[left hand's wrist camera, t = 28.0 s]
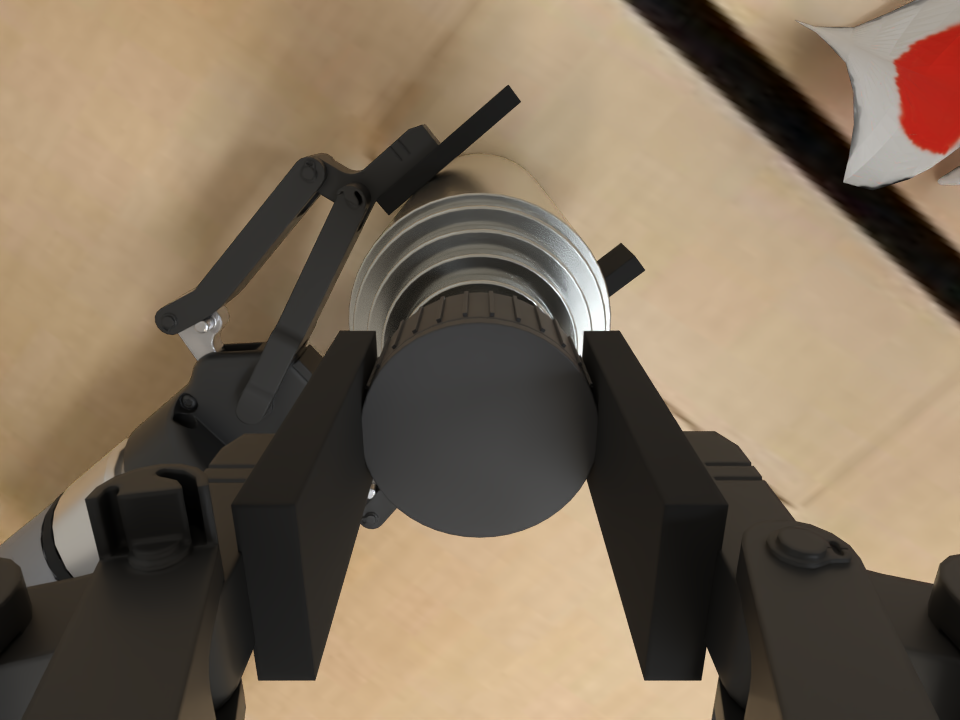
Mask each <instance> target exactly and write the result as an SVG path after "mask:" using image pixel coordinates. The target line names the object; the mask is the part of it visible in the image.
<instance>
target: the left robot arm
mask: <svg viewBox="0 0 960 720" xmlns="http://www.w3.org/2000/svg"><path fill="white" fill-rule="evenodd" d="M377 358H378V357H377V340H376V331H340V332H339V333H338V335H337V336H336V338H335V340H334V341H333V343H332V344H331V346H330V348H329V349H328V351H327V352H326V354H325V356H324V357H323V359H322V360H321V362H320V363H319V365H318V367H317V368H316V370H315V371H314V373H313V375H312V376H311V378H310V379H309V381H308V383H307V384H306V386H305V387H304V389H303V391H302V392H301V394H300V395H299V397H298V399H297V400H296V402H295V403H294V405H293V406H292V408H291V410H290V411H289V413H288V414H287V416H286V418H285V419H284V421H283V422H282V424H281V426H280V427H279V429H278V430H277V432H276V434H243V435H242V436H240V437H238V438H237V439H235V440H234V441H232V442H231V443H229V444H227V445H226V446H224V447H223V448H221V450H220V451H219V452H218V454H217V455H216V456H215V457H214V459H213V460H212V461H211V463H210V464H209V468H206V469H205V471H204V472H203V471H202V470H200V469H199V468H198V467H193V466H189V465H185V464H158V465H152V466H147V467H142V468H137V469H134V470H131V471H128V472H125V473H123V474H120V475H117V476H114V477H113V478H111V479H109V480H108V481H106V482H104V483H102V484H101V485H99V486H97V487H96V488H95V489H94V490H93V491H92V492H91V493H90V494H89V495H88V496H87V497H86V498H85V503H86V507H87V511H88V515H89V519H90V523H91V527H92V531H93V535H94V539H95V543H96V547H97V551H98V555H99V562H98V564H97V566H96V568H95V570H94V572H93V573H91V574H87V575H83V576H79V577H74V578H69V579H64V580H59V581H54V582H49V583H44V584H39V585H34V586H29V587H26V584H25V580H24V577H23V574H22V570H21V567H20V566H19V565H17V564H16V563H15V562H14V561H12V560H11V559H7V558H1V557H0V720H244V718H245V710H246V705H245V697H244V690H243V684H242V678H241V677H242V675H243V672H244V670H245V668H246V665H247V663H248V660H249V658H250V656H251V653H252V651H253V650H254V657H255V663H256V669H257V676H258V680H315V679H316V676H317V672H318V669H319V665H320V662H321V658H322V655H323V652H324V648H325V645H326V641H327V638H328V634H329V631H330V627H331V624H332V620H333V617H334V613H335V610H336V606H337V603H338V599H339V596H340V592H341V589H342V585H343V582H344V578H345V575H346V571H347V568H348V564H349V561H350V558H351V554H352V551H353V547H354V544H355V540H356V537H357V533H358V530H359V526H360V523H361V519H362V516H363V512H364V509H365V505H366V502H367V498H368V495H369V491H370V488H371V484H372V481H373V478H372V476H371V474H370V472H369V470H368V468H367V465H366V463H365V458H364V444H363V430H362V406H363V403H364V400H365V397H366V393H367V391H368V390H367V389H365V388H366V385H367V382H368V380H369V378H370V375H371V373H372V370H373V368H374V365H375V363H376V360H377ZM582 359H583V361H584V364H585V366H586V369H587V371H588V374H589V376H590V379H591V381H592V383H593V386H594V387H592V388H591V390H592V392H593V395H594V398H595V401H596V405H597V408H598V424H597V438H596V452H595V461H594V464H593V467H592V469H591V471H590V473H589V475H588V477H587V482H588V486H589V489H590V493H591V496H592V500H593V503H594V507H595V510H596V514H597V517H598V521H599V524H600V528H601V531H602V535H603V538H604V542H605V545H606V549H607V552H608V556H609V559H610V563H611V566H612V569H613V573H614V576H615V580H616V583H617V587H618V590H619V594H620V597H621V601H622V604H623V608H624V611H625V615H626V618H627V622H628V625H629V629H630V632H631V636H632V639H633V643H634V646H635V650H636V653H637V657H638V660H639V663H640V667H641V670H642V674H643V677H644V680H701V679H702V673H703V667H704V660H705V654H706V647H707V648H708V651H709V653H710V656H711V658H712V660H713V663H714V665H715V667H716V670H717V672H718V675H719V678H718V684H717V690H716V696H715V702H714V708H713V714H712V720H960V554H958V555H952V556H949V557H948V558H946V559H945V560H944V561H943V562H942V563H940V565H939V568H938V572H937V575H936V578H935V582H934V584H931V583H926V582H921V581H916V580H911V579H905V578H900V577H895V576H890V575H885V574H881V573H877V572H873V571H869V570H866V569H865V567H864V565H863V563H862V561H861V559H860V557H859V556H858V555H857V554H856V552H855V551H854V550H853V549H852V547H851V546H850V545H849V544H847V543H846V542H844V541H843V540H841V539H840V538H838V537H837V536H835V535H834V534H832V533H830V532H828V531H825V530H823V529H820V528H818V527H816V526H813V525H811V524H806V523H801V522H797V521H795V519H794V518H793V517H792V515H791V514H790V513H789V511H788V510H787V509H786V508H785V506H784V505H783V504H782V502H781V501H780V500H779V498H778V497H777V496H776V494H775V493H774V492H773V491H772V489H771V488H770V487H769V485H768V484H767V483H766V481H765V480H762V476H761V475H760V474H759V472H758V471H757V470H756V468H755V467H754V466H751V462H750V461H749V459H748V458H747V457H746V455H745V454H744V453H743V451H742V450H741V449H740V447H739V446H738V445H736V444H735V443H733V442H731V441H730V440H728V439H727V438H725V437H723V436H722V435H720V434H718V433H717V432H715V431H682V430H681V428H680V426H679V425H678V423H677V422H676V420H675V418H674V417H673V415H672V414H671V412H670V410H669V409H668V407H667V406H666V404H665V402H664V401H663V399H662V398H661V396H660V394H659V393H658V391H657V390H656V388H655V387H654V385H653V383H652V382H651V380H650V379H649V377H648V375H647V374H646V372H645V371H644V369H643V367H642V366H641V364H640V363H639V361H638V359H637V358H636V356H635V355H634V353H633V351H632V350H631V348H630V347H629V345H628V343H627V342H626V340H625V339H624V337H623V336H622V334H621V332H620V331H584V333H583V350H582Z"/></svg>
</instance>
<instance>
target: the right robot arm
mask: <svg viewBox="0 0 960 720" xmlns="http://www.w3.org/2000/svg"><path fill="white" fill-rule="evenodd" d="M520 102H521V101H520V100H519V98H518V97H517V96H516V94H515V93H514V92H513V90H512V89H511V88H510V86H509V85H507V86H506V87H505V88H504V89H503V90H502V91H500V92H499V93H498V94H497V95H496V96H495V97H493V98H492V99H491V100H490V101H489V102H488V103H487V104H485V105H484V106H483V107H482V108H481V109H480V110H479V111H477V112H476V113H475V114H474V115H473V116H472V117H471V118H469V119H468V120H467V121H466V122H465V123H464V124H462V125H461V126H460V127H459V128H458V129H457V130H456V131H454V132H453V133H452V134H451V135H450V136H449V137H448V138H446V139H445V140H444V141H443V142H442V143H440V142H439V141H438V140H437V138H436V137H435V136H434V135H433V133H432V132H431V131H430V130H429V128H428V127H427V126H426V125H425V124H423V125H420V126H417V127H414V128H411V129H409V130H407V131H406V132H405V133H404V134H403V135H402V136H401V137H400V138H399V139H397V140H396V141H395V142H394V143H393V144H392V145H391V146H390V147H388V148H387V149H386V150H385V151H384V152H383V153H382V154H381V155H379V156H378V157H377V158H376V159H375V160H374V161H373V162H372V163H370V164H369V165H368V166H367V167H366V168H365V169H364V170H361V171H355V170H351V169H348V168H346V167H345V166H343V165H341V164H340V163H338V162H336V161H335V160H334V159H333V157H331V156H330V155H328V154H325V153H319V154H314V155H311V156H307V157H304V158H301V159H300V160H299V161H297V162H296V164H295V165H294V166H293V167H292V169H291V170H290V171H289V172H288V174H287V175H286V176H285V177H284V179H283V180H282V181H281V182H280V184H279V185H278V186H277V187H276V189H275V190H274V191H273V192H272V194H271V195H270V196H269V197H268V199H267V200H266V201H265V202H264V204H263V205H262V206H261V207H260V209H259V210H258V211H257V212H256V214H255V215H254V216H253V217H252V219H251V220H250V221H249V222H248V224H247V225H246V226H245V227H244V229H243V230H242V231H241V232H240V234H239V235H238V236H237V237H236V239H235V240H234V241H233V242H232V244H231V245H230V246H229V248H228V249H227V250H226V251H225V253H224V254H223V255H222V256H221V258H220V259H219V260H218V261H217V263H216V264H215V265H214V266H213V268H212V269H211V270H210V271H209V273H208V274H207V275H206V276H205V278H204V279H203V280H202V281H201V283H200V284H199V285H198V286H197V287H196V288H194V289H192V290H191V291H189V292H187V293H185V294H183V295H182V296H180V297H179V298H177V299H175V300H174V301H172V302H171V303H169V304H167V305H166V306H164V307H163V308H161V309H160V310H159V311H158V312H157V313H156V315H155V323H156V325H157V327H158V328H159V329H160V330H161V331H162V332H164V333H166V334H170V335H174V334H179V336H180V337H181V339H182V340H183V341H184V343H185V344H186V346H187V347H188V348H189V350H190V351H191V353H192V354H193V355H194V357H195V358H196V360H197V362H196V364H195V366H194V368H193V372H192V376H191V379H190V381H189V383H188V384H187V385H186V386H185V387H184V388H183V389H181V390H180V391H179V392H178V393H177V394H176V395H174V396H173V397H172V398H171V399H170V400H169V401H168V402H166V403H165V404H164V405H163V406H162V407H161V408H159V409H158V410H157V411H156V412H155V413H154V414H152V415H151V416H150V417H149V418H148V419H147V420H145V421H144V422H143V423H142V424H141V425H140V426H138V427H137V428H136V429H135V430H134V431H133V432H132V434H131V435H130V437H129V438H126V439H124V440H123V441H122V442H120V443H119V444H118V445H117V446H116V447H115V448H113V449H112V450H111V451H110V452H109V453H108V454H106V455H105V456H104V457H103V458H102V459H100V460H99V461H98V462H97V463H96V464H95V465H93V466H92V467H91V468H90V469H89V470H87V471H86V472H85V473H84V474H83V475H82V476H80V477H79V478H78V479H77V480H76V481H75V482H73V483H72V484H71V485H70V486H69V487H68V488H67V489H66V490H65V491H64V492H63V493H62V494H61V495H60V496H59V497H58V498H57V499H56V500H55V501H54V502H53V503H52V504H51V505H49V506H48V507H47V508H46V509H44V510H43V511H42V512H41V513H39V514H38V515H37V516H36V517H34V518H33V519H32V520H31V521H30V522H28V523H27V524H26V525H25V526H23V527H22V528H21V529H20V530H18V531H17V532H16V533H15V534H13V535H12V536H11V537H10V538H8V539H7V540H6V541H5V542H4V543H3V544H1V545H0V557H1V558H7V559H11V560H12V561H14V562H15V563H16V564H17V565H19V566H20V567H21V570H22V574H23V577H24V580H25V584H26V587H29V586H34V585H39V584H44V583H49V582H54V581H59V580H64V579H69V578H74V577H79V576H83V575H87V574H91V573H93V572H94V570H95V568H96V566H97V564H98V562H99V555H98V551H97V547H96V543H95V539H94V535H93V531H92V527H91V523H90V519H89V515H88V511H87V507H86V503H85V498H86V497H87V496H88V495H89V494H90V493H91V492H92V491H93V490H94V489H95V488H96V487H97V486H99V485H101V484H102V483H104V482H106V481H108V480H109V479H111V478H113V477H114V476H117V475H120V474H123V473H125V472H128V471H131V470H134V469H137V468H142V467H147V466H152V465H158V464H185V465H189V466H193V467H198V468H199V469H200V470H202V471H203V472H204V471H205V469H206V468H209V464H210V463H211V461H212V460H213V459H214V457H215V456H216V455H217V454H218V452H219V451H220V450H221V448H223V447H224V446H226V445H227V444H229V443H231V442H232V441H234V440H235V439H237V438H238V437H240V436H242V435H243V434H276V432H277V430H278V429H279V427H280V426H281V424H282V422H283V421H284V419H285V418H286V416H287V414H288V413H289V411H290V410H291V408H292V406H293V405H294V403H295V402H296V400H297V399H298V397H299V395H300V394H301V392H302V391H303V389H304V387H305V386H306V384H307V383H308V381H309V379H310V378H311V376H312V375H313V373H314V371H315V370H316V368H317V367H318V365H319V363H320V362H321V360H322V359H323V358H322V356H321V355H320V354H319V353H318V352H317V351H316V350H315V349H314V348H313V347H312V346H311V345H309V346H307V347H306V344H307V342H308V340H309V338H310V336H311V334H312V332H313V330H314V328H315V325H316V323H317V320H318V318H319V316H320V314H321V311H322V309H323V307H324V305H325V303H326V301H327V299H328V297H329V295H330V293H331V291H332V289H333V287H334V285H335V283H336V281H337V279H338V277H339V275H340V273H341V271H342V269H343V267H344V265H345V263H346V261H347V259H348V257H349V255H350V253H351V250H352V248H353V246H354V244H355V242H356V240H357V238H358V236H359V234H360V232H361V230H362V228H363V226H364V224H365V222H366V220H367V218H368V216H369V214H370V212H371V210H372V208H373V206H374V204H375V202H376V201H377V202H378V203H379V205H380V206H381V207H382V208H383V209H384V210H385V212H386V213H387V214H388V215H390V214H391V213H392V212H393V211H394V210H396V209H397V208H398V207H399V206H400V205H401V204H403V203H404V202H405V201H406V200H407V199H408V198H410V197H411V196H412V195H413V194H414V193H415V192H417V191H418V190H419V189H420V188H421V187H422V186H424V185H425V184H426V183H427V182H428V181H429V180H431V179H432V178H433V177H434V176H435V175H436V174H438V173H439V172H440V171H441V170H442V169H443V168H445V167H446V166H447V165H448V164H449V163H450V162H452V161H453V160H454V159H455V158H456V157H457V156H459V155H460V154H461V153H462V152H463V151H464V150H466V149H467V148H468V147H469V146H470V145H471V144H472V143H474V142H475V141H476V140H477V139H478V138H479V137H481V136H482V135H483V134H484V133H485V132H486V131H488V130H489V129H490V128H491V127H492V126H493V125H495V124H496V123H497V122H498V121H499V120H500V119H502V118H503V117H504V116H505V115H506V114H507V113H509V112H510V111H511V110H512V109H513V108H514V107H516V106H517V105H518V104H519V103H520ZM320 195H322V196H324V197H326V198H328V199H329V200H331V201H333V202H334V205H333V207H332V209H331V211H330V213H329V215H328V217H327V219H326V222H325V224H324V226H323V228H322V230H321V232H320V234H319V236H318V239H317V241H316V243H315V245H314V247H313V249H312V251H311V253H310V256H309V258H308V260H307V262H306V264H305V266H304V268H303V270H302V273H301V275H300V277H299V279H298V281H297V283H296V285H295V287H294V290H293V292H292V294H291V296H290V298H289V300H288V302H287V304H286V307H285V309H284V311H283V313H282V315H281V317H280V319H279V321H278V323H277V325H276V327H275V329H274V330H273V332H272V333H271V335H270V337H269V339H268V341H267V342H256V343H237V344H223V343H222V341H221V337H220V334H221V331H222V329H223V328H224V327H225V326H226V325H227V324H228V321H229V312H228V309H227V307H226V306H224V305H225V304H226V303H227V302H229V301H230V300H231V299H233V298H234V297H235V296H236V295H237V294H239V293H240V291H241V290H242V289H243V288H244V287H245V286H246V285H247V284H248V282H249V281H250V280H251V279H252V278H253V276H254V275H255V274H256V273H257V272H258V270H259V269H260V268H261V267H262V265H263V264H264V263H265V262H266V261H267V259H268V258H269V257H270V256H271V255H272V253H273V252H274V251H275V250H276V248H277V247H278V246H279V245H280V244H281V242H282V241H283V240H284V239H285V238H286V236H287V235H288V234H289V233H290V232H291V230H292V229H293V228H294V227H295V225H296V224H297V223H298V222H299V221H300V219H301V218H302V217H303V216H304V215H305V213H306V212H307V211H308V210H309V208H310V207H311V206H312V205H313V204H314V202H315V201H316V200H317V199H318V198H319V196H320ZM597 263H598V265H599V267H600V269H601V272H602V274H603V277H604V279H605V282H606V286H607V290H608V294H609V297H610V296H611V295H613V294H614V293H615V292H617V291H618V290H619V289H621V288H622V287H623V286H625V285H626V284H628V283H629V282H630V281H632V280H633V279H634V278H636V277H637V276H638V275H640V274H641V273H642V272H644V271H645V269H644V268H643V266H642V265H641V264H640V262H639V261H638V260H637V258H636V257H635V256H634V255H633V254H632V253H631V252H630V251H629V250H628V249H627V248H626V247H625V246H624V245H623V244H622V243H620V244H619V245H618V246H616V247H615V248H614V249H612V250H611V251H610V252H609V253H607V254H606V255H605V256H603V257H602V258H601V259H599V260H598V261H597ZM396 508H397V507H396V506H395V505H394V504H392V503H391V502H390V501H389V500H388V499H387V497H386V496H385V495H384V494H383V493H382V491H381V490H380V489H379V488H378V486H377V484H376V483H375V481H374V480H373V481H372V484H371V488H370V491H369V495H368V498H367V502H366V505H365V509H364V512H363V516H362V519H361V523H360V524H361V525H362V526H363V527H365V528H368V529H375V528H378V527H380V526H381V525H382V524H383V523H384V522H385V521H386V520H387V518H388V517H389V516H390V515H391V514H392V513H393V512H394V511H395V509H396Z"/></svg>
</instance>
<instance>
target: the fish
mask: <svg viewBox="0 0 960 720" xmlns="http://www.w3.org/2000/svg"><path fill="white" fill-rule="evenodd" d="M795 21H797V20H795ZM797 22H798V23H800V24H802V25H804V26H805V27H807V28H809V29H811V30H812V31H814V32H816V33H817V34H818V35H819V36H820V37H821V38H822V39H823V40H824V41H825V42H826V43H827V44H828V45H829V46H830V47H831V48H832V49H833V50H834V51H835V52H836V53H837V54H838V55H839V56H840V57H841V58H842V60H843V61H844V62H845V63H846V66H847V70H848V73H849V77H850V81H851V84H852V88H853V102H854V128H853V135H852V141H851V148H850V154H849V160H848V164H847V168H846V172H845V177H844V181H843V182H845V183H848V184H852V185H855V186H859V187H862V188H866V189H869V190H875V189H878V188H881V187H885V186H888V185H891V184H895V183H898V182H901V181H905V180H908V179H910V178H912V177H914V176H916V175H918V174H920V173H922V172H924V171H926V170H928V169H930V168H931V167H933V166H934V165H936V164H937V163H939V162H940V161H941V160H943V159H944V158H946V157H947V156H948V155H950V154H951V153H952V152H954V151H955V150H956V149H958V148H959V147H960V0H915V1H913V2H910V3H908V4H906V5H904V6H902V7H900V8H898V9H896V10H894V11H892V12H890V13H887V14H885V15H882V16H880V17H878V18H875V19H873V20H871V21H868V22H866V23H863V24H861V25H859V26H856V27H814V26H811V25H808V24H805V23H803V22H800V21H797ZM938 183H939V184H940V185H960V166H959V167H957V168H955V169H954V170H952V171H951V172H949V173H948V174H946V175H944V176H943V177H941V178H940V179H938Z"/></svg>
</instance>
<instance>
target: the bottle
mask: <svg viewBox="0 0 960 720" xmlns="http://www.w3.org/2000/svg"><path fill="white" fill-rule="evenodd" d="M464 291H469V293H477V292H483V293H489V291H493V293H496V294H501V295H506V296H510V297H513V295H514V296H517V299H519V300H522V301H524V302H526V303H528V304H530V305H532V306H535V305H537V306H539V309H540V310H541V311H542V312H544V313H545V314H547V315H548V316H549V317H550V318H551V319H552V320H553V319H554V318H555V319H556V320H557V321H558V324H559V326H560V328H561V329H562V330H563V331H564V332H565V334H566V335H567V337H568V336H571V337H572V339H573V342H574V344H575V347H576V349H577V352H578V354H579V355H581V357H582V350H583V333H584V331H610V327H611V309H610V299H609V294H608V290H607V286H606V282H605V279H604V277H603V274H602V272H601V269H600V267H599V265H598V263H597V261H596V259H595V257H594V256H593V254H592V252H591V251H590V249H589V248H588V247H587V245H586V244H585V243H584V241H583V240H582V239H581V237H580V236H579V235H578V234H577V232H576V231H575V230H574V229H573V227H572V226H571V225H570V223H569V222H568V221H567V220H566V218H565V217H564V216H563V214H562V213H561V212H560V211H559V209H558V208H557V207H556V205H555V204H554V203H553V202H552V200H551V199H550V198H549V196H548V195H547V194H546V193H545V191H544V190H543V189H542V187H541V186H540V185H539V184H538V182H537V181H536V180H535V179H534V177H533V176H532V175H531V174H530V173H529V172H528V171H526V170H525V169H524V168H522V167H521V166H520V165H518V164H516V163H515V162H513V161H511V160H509V159H506V158H504V157H501V156H497V155H492V154H483V153H480V154H468V155H463V156H460V157H456V158H455V159H454V160H453V161H452V162H450V163H449V164H448V165H447V166H446V167H445V168H443V169H442V170H441V171H440V172H439V173H438V174H436V175H435V176H434V177H433V178H432V179H431V180H429V181H428V182H427V183H426V184H425V185H424V186H422V187H421V188H420V189H419V190H418V191H417V192H415V193H414V194H413V195H412V196H411V197H410V199H409V200H408V201H407V202H406V204H405V205H404V206H403V208H402V209H401V210H400V211H399V213H398V214H397V215H396V216H395V218H394V219H393V220H392V222H391V223H390V224H389V225H388V227H387V228H386V229H385V230H384V232H383V233H382V234H381V236H380V237H379V238H378V239H377V241H376V242H375V243H374V245H373V246H372V248H371V249H370V251H369V252H368V254H367V255H366V257H365V258H364V260H363V262H362V264H361V267H360V269H359V271H358V273H357V276H356V279H355V282H354V285H353V288H352V293H351V299H350V305H349V329H350V331H376V340H377V357H380V354H381V352H382V350H383V347H384V345H385V342H386V340H387V338H388V337H389V338H391V337H392V336H393V334H394V333H395V332H396V331H397V329H398V328H399V325H400V323H401V321H402V320H404V321H406V320H407V319H408V318H410V317H411V316H412V315H413V314H414V313H416V312H417V311H418V309H419V307H421V306H423V307H425V306H427V305H429V304H431V303H433V302H436V301H438V300H440V298H441V297H442V296H445V298H447V297H450V296H454V295H459V294H464Z"/></svg>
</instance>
